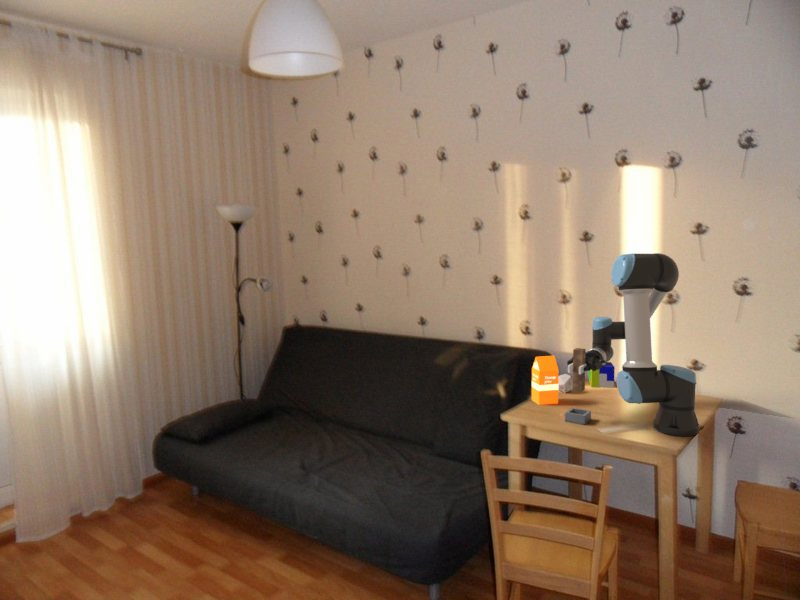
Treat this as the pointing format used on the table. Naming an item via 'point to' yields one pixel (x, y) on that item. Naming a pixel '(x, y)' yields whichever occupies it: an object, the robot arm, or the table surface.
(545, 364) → the orange juice
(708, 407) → the table surface
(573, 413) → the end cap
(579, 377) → the brown rectangular block
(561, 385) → the crumpled paper ball
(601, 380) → the puzzle toy
